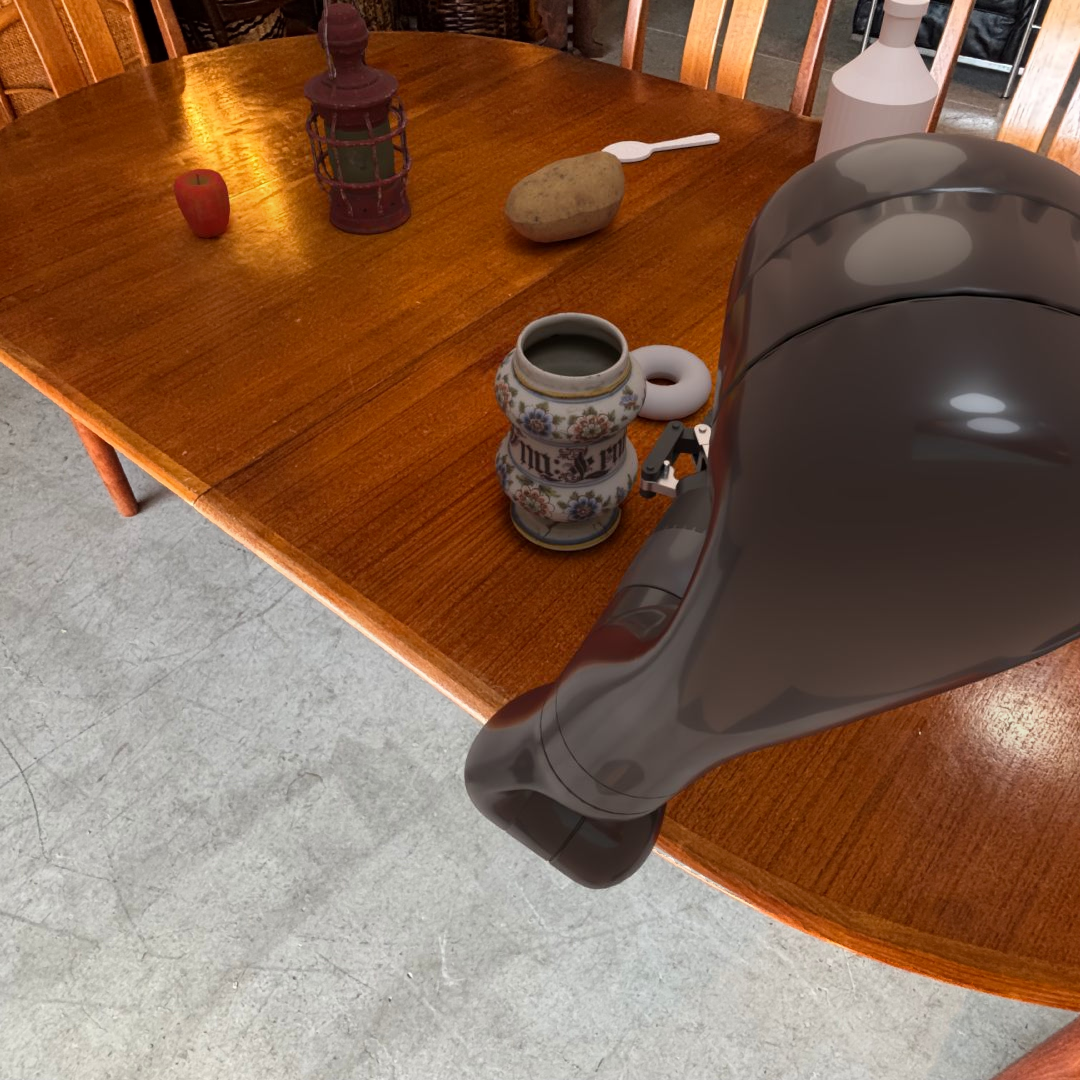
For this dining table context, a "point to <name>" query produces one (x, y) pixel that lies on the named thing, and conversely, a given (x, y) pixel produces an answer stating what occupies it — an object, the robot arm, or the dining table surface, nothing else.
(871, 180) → the robot arm
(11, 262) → the dining table surface
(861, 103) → the bottle
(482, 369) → the dining table surface
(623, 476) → the apothecary jar
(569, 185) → the potato
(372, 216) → the lantern
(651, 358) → the donut
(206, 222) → the apple
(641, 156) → the spoon
